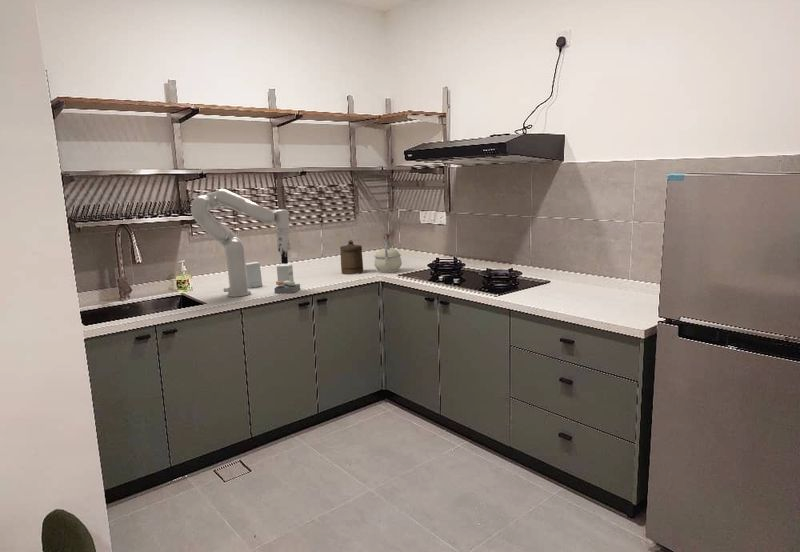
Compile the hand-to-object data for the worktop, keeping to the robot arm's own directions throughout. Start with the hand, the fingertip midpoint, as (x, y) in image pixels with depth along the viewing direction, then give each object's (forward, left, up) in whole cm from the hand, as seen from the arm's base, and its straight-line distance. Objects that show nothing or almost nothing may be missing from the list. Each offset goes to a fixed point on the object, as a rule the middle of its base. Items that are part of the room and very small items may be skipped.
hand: (284, 263), depth 299 cm
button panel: (+1, -3, -16) cm, 16 cm away
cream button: (0, 0, -12) cm, 12 cm away
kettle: (+51, +57, -16) cm, 79 cm away
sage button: (+4, -5, -12) cm, 14 cm away
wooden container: (+26, +59, -16) cm, 67 cm away
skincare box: (-26, +15, -16) cm, 34 cm away
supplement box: (-6, +15, -16) cm, 23 cm away
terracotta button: (-2, -7, -11) cm, 13 cm away
